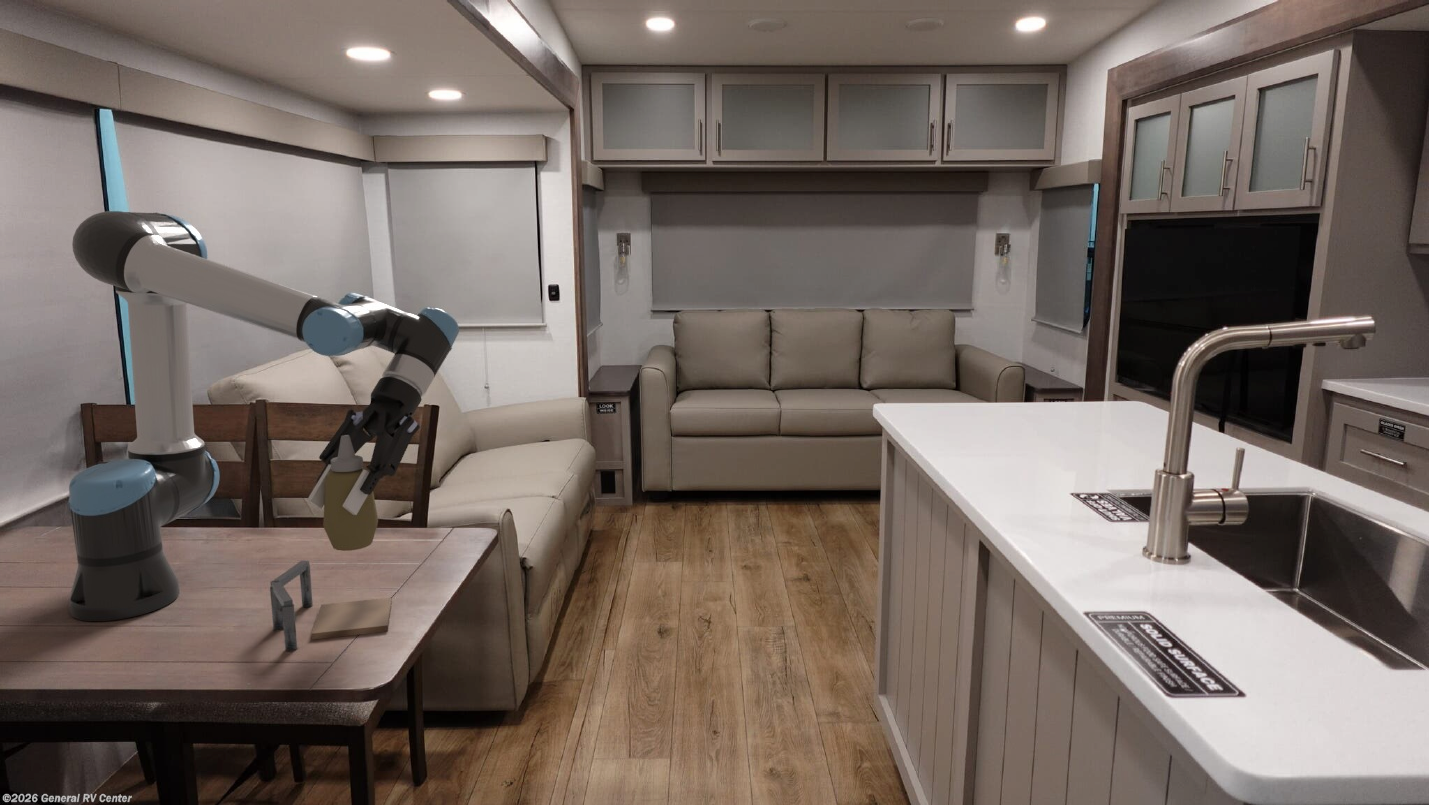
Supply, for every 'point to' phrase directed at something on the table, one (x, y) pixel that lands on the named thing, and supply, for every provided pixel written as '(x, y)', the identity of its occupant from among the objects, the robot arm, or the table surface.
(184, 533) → the table surface
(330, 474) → the squeeze bottle
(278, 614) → the gray angled arch frame
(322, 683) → the table surface
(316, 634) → the pad
